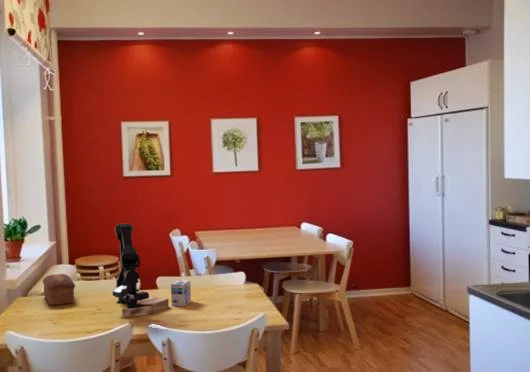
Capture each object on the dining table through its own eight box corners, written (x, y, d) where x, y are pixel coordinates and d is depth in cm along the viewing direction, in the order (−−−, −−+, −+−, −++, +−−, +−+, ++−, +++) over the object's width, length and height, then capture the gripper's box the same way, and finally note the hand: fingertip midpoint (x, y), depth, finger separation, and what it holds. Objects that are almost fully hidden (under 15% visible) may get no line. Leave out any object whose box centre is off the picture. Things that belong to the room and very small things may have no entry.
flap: (122, 316, 274) (122, 309, 273) (122, 315, 274) (122, 309, 274) (153, 312, 279) (153, 306, 279) (152, 312, 280) (152, 305, 280)
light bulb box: (184, 306, 291) (183, 284, 291) (171, 306, 293) (170, 284, 292) (191, 301, 302) (190, 279, 301) (178, 300, 303) (177, 279, 303)
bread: (69, 292, 326) (68, 270, 325) (77, 304, 301) (76, 279, 300) (42, 296, 320) (41, 273, 319) (47, 307, 295) (46, 283, 294)
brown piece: (129, 310, 286) (129, 301, 286) (145, 304, 297) (144, 296, 297) (153, 313, 280) (153, 304, 280) (168, 306, 291) (168, 298, 291)
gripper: (102, 279, 276) (103, 313, 277) (130, 284, 265) (131, 319, 266) (121, 275, 285) (122, 308, 286) (149, 279, 274) (150, 313, 275)
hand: (131, 312), depth 278 cm, fingers closed
